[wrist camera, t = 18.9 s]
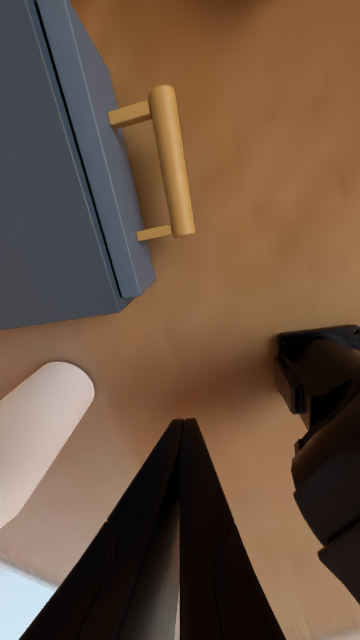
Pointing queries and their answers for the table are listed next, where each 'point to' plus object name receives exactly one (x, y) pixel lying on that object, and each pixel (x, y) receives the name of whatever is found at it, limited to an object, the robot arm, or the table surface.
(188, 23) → the table surface
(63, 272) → the cabinet
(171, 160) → the drawer
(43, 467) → the can
